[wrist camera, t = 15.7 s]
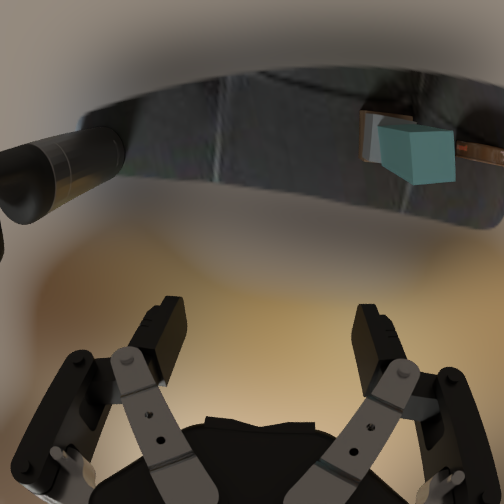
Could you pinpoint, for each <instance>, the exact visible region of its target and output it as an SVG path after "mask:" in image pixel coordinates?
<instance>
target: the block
mask: <svg viewBox="0 0 504 504" xmlns="http://www.w3.org/2000/svg"><path fill="white" fill-rule="evenodd" d="M377 128H378V136H379V144H380V152H381V162H382V166H383V167H385V168H386V169H388V170H390V171H391V172H393V173H395V174H396V175H398V176H400V177H401V178H403V179H404V180H406V181H408V182H409V183H411V184H412V185H420V184H430V183H441V182H452V181H455V152H454V137H453V131H450V130H445V129H439V128H434V127H428V126H422V125H416V124H404V125H387V126H377Z"/></svg>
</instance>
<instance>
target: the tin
mask: <svg viewBox="0 0 504 504" xmlns="http://www.w3.org/2000/svg"><path fill="white" fill-rule="evenodd" d="M455 156H457V157H461V158H465V159H470V160H474V161H479V162H484V163H489V164H494V165H499V166H503V167H504V149H502V148H498V147H494V146H489V145H484V144H479V143H472V142H464V141H459V140H458V141H456V154H455Z"/></svg>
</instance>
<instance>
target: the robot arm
mask: <svg viewBox="0 0 504 504" xmlns="http://www.w3.org/2000/svg"><path fill="white" fill-rule="evenodd" d="M123 162H124V147H123V144H122V141H121V139H120V137H119V136H118V135H117V133H116V132H115V131H113V130H112V129H110V128H107V127H95V128H90V129H84V130H79V131H75V132H71V133H65V134H61V135H57V136H53V137H49V138H45V139H41V140H38V141H34V142H30V143H27V144H24V145H20V146H18V147H14V148H11V149H7V150H4V151H1V152H0V207H1V209H2V211H3V212H4V213H5V214H6V215H7V217H8V218H9V219H11V220H12V221H14V222H16V223H18V224H22V225H27V224H31V223H33V222H35V221H37V220H39V219H40V218H42V217H43V216H45V215H47V214H48V213H50V212H51V211H53V210H55V209H56V208H58V207H60V206H61V205H63V204H65V203H67V202H68V201H70V200H72V199H74V198H76V197H78V196H79V195H81V194H83V193H85V192H87V191H89V190H91V189H93V188H95V187H96V186H99V185H100V184H102V183H104V182H106V181H108V180H110V179H112V178H113V177H115V176H116V175H117V174H118V173H119V171H120V170H121V168H122V165H123ZM3 254H4V240H3V234H2V229H1V223H0V262H1V260H2V257H3ZM186 333H187V319H186V314H185V307H184V301H183V298H182V297H177V296H165V298H164V300H163V301H162V303H161V305H160V306H158V305H156V306H154V307H152V308H151V309H150V310H149V311H147V313H146V315H145V317H144V318H143V320H142V322H141V323H140V326H139V327H138V328H137V330H136V332H135V334H134V335H133V337H132V339H131V341H130V343H129V345H128V346H127V347H123V348H120V349H118V350H117V351H115V352H114V353H113V355H112V357H110V358H97V359H94V357H93V355H92V353H91V352H89V351H87V350H77V351H74V352H72V353H71V354H69V355H68V357H67V358H66V359H65V361H64V363H63V365H62V366H61V368H60V369H59V371H58V373H57V375H56V376H55V378H54V380H53V382H52V383H51V385H50V387H49V388H48V390H47V392H46V394H45V396H44V397H43V399H42V401H41V403H40V405H39V407H38V409H37V411H36V413H35V414H34V416H33V418H32V420H31V422H30V424H29V426H28V428H27V430H26V432H25V434H24V436H23V438H22V440H21V442H20V444H19V446H18V449H17V451H16V453H15V455H14V457H13V459H12V462H11V473H12V475H13V477H14V479H15V480H16V481H18V482H19V483H20V484H22V485H23V486H25V487H26V488H27V489H28V490H29V491H30V492H32V493H33V494H35V495H36V496H38V497H39V498H41V499H42V500H44V501H45V502H47V503H49V504H409V503H408V502H407V501H406V500H405V499H403V498H402V497H401V496H400V495H399V494H398V493H396V492H395V491H394V490H393V489H392V488H391V487H390V486H389V485H387V484H386V483H385V482H384V481H383V480H382V479H381V478H379V477H378V476H377V475H376V474H375V473H374V472H373V471H372V470H371V469H370V467H371V465H372V464H373V463H374V461H375V460H376V458H377V456H378V455H379V453H380V452H381V450H382V448H383V447H384V445H385V443H386V442H387V440H388V438H389V437H390V435H391V433H392V432H393V430H394V428H395V426H396V424H397V423H398V421H399V419H400V418H403V419H409V420H414V421H415V426H416V431H417V436H418V441H419V447H420V452H421V458H422V464H423V471H424V477H425V484H423V485H422V486H421V487H420V488H419V490H418V492H417V495H416V503H415V504H500V501H501V489H500V484H499V480H498V476H497V472H496V468H495V464H494V460H493V456H492V452H491V449H490V446H489V442H488V439H487V436H486V432H485V429H484V426H483V423H482V420H481V418H480V415H479V412H478V409H477V406H476V403H475V401H474V398H473V396H472V393H471V390H470V388H469V385H468V383H467V380H466V378H465V376H464V374H463V373H462V372H461V371H459V370H458V369H456V368H453V367H445V368H443V369H441V370H440V372H439V373H438V375H435V374H429V373H424V372H420V370H419V368H418V366H417V365H416V364H415V363H413V362H412V361H410V360H407V357H406V355H405V352H404V350H403V347H402V345H401V342H400V340H399V338H398V335H397V332H396V331H395V328H394V325H393V323H392V321H391V320H390V319H389V318H388V317H387V316H386V315H379V312H378V310H377V307H376V305H375V304H359V305H358V307H357V311H356V316H355V320H354V324H353V328H352V335H351V340H352V345H353V350H354V354H355V359H356V363H357V367H358V372H359V376H360V381H361V386H362V391H363V396H364V397H366V399H365V400H364V402H363V403H362V405H361V406H360V407H359V409H358V411H357V412H356V413H355V415H354V416H353V417H352V419H351V420H350V421H349V423H348V424H347V425H346V427H345V428H344V429H343V431H342V432H341V433H340V434H339V436H338V437H337V438H336V437H334V436H332V435H330V434H328V433H326V432H323V431H320V430H315V422H287V423H281V424H275V425H270V426H264V427H258V426H254V425H250V424H247V423H243V422H240V421H237V420H234V419H226V418H216V417H208V416H206V418H205V422H204V423H203V424H196V425H192V426H189V427H186V428H184V429H182V430H180V428H179V426H178V424H177V422H176V420H175V419H174V417H173V415H172V413H171V411H170V409H169V407H168V405H167V403H166V401H165V399H164V397H163V396H162V393H161V391H160V389H159V387H158V386H165V387H167V384H168V382H169V379H170V376H171V373H172V371H173V368H174V366H175V363H176V360H177V358H178V355H179V352H180V350H181V347H182V344H183V342H184V339H185V337H186ZM112 404H123V407H124V409H125V412H126V415H127V417H128V420H129V423H130V425H131V428H132V430H133V433H134V435H135V438H136V440H137V443H138V445H139V447H140V450H141V452H142V454H143V456H142V457H140V458H139V459H137V460H136V461H134V462H133V463H131V464H130V465H128V466H126V467H125V468H123V469H122V470H120V471H119V472H117V473H115V474H113V475H112V476H110V477H109V478H107V479H105V480H104V481H102V482H101V483H99V484H98V485H97V486H95V476H96V473H95V470H94V468H93V466H92V465H91V464H90V462H91V459H92V457H93V454H94V451H95V448H96V446H97V443H98V440H99V437H100V435H101V432H102V429H103V427H104V424H105V421H106V419H107V416H108V414H109V411H110V409H111V406H112Z"/></svg>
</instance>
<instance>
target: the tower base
mask: <svg viewBox="0 0 504 504" xmlns="http://www.w3.org/2000/svg"><path fill="white" fill-rule="evenodd" d="M366 113H368V114H377V115H383V116H388V117H394V118H399V119H404V120H409V121H413V117H412V116H406V115H399V114H391V113H383V112H375V111H362V110H360V120H359V159H361V160H362V161H364V162H370V161H368V160H366V159H365V158H363V157H362V152H363V141H364V129H365V115H366ZM376 163H378V162H376Z"/></svg>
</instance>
